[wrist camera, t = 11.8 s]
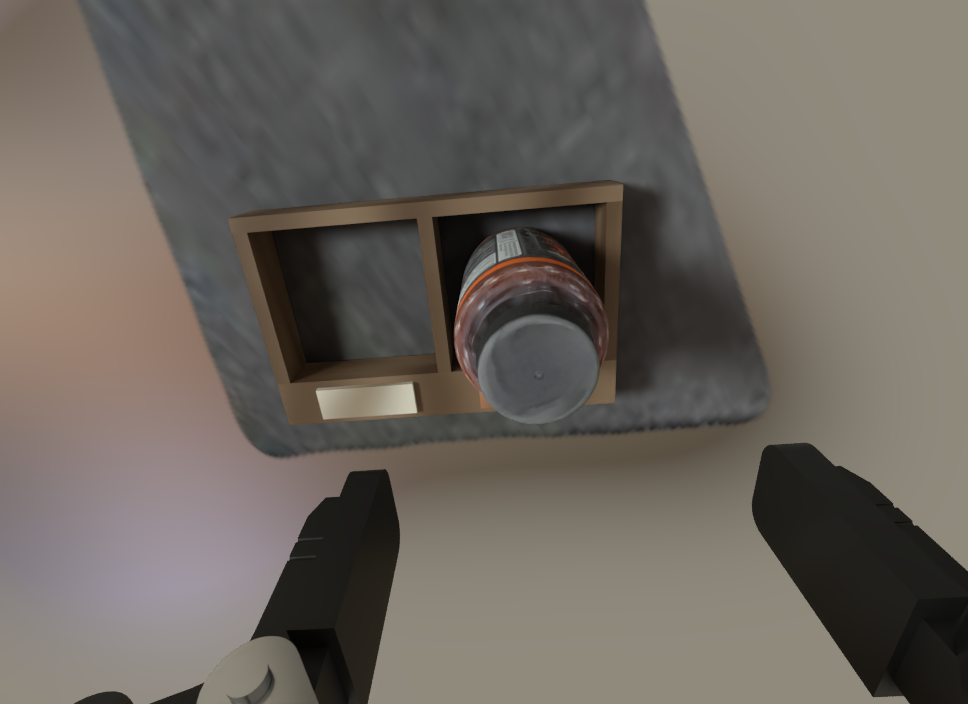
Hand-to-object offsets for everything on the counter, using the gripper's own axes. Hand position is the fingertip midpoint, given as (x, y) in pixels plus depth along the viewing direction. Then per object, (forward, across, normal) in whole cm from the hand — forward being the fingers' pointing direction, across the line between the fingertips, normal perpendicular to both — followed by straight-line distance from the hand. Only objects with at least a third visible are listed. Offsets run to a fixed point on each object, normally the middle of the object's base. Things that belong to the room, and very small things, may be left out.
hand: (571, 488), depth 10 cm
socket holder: (+17, +4, +1) cm, 17 cm away
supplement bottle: (+17, 0, 0) cm, 17 cm away
